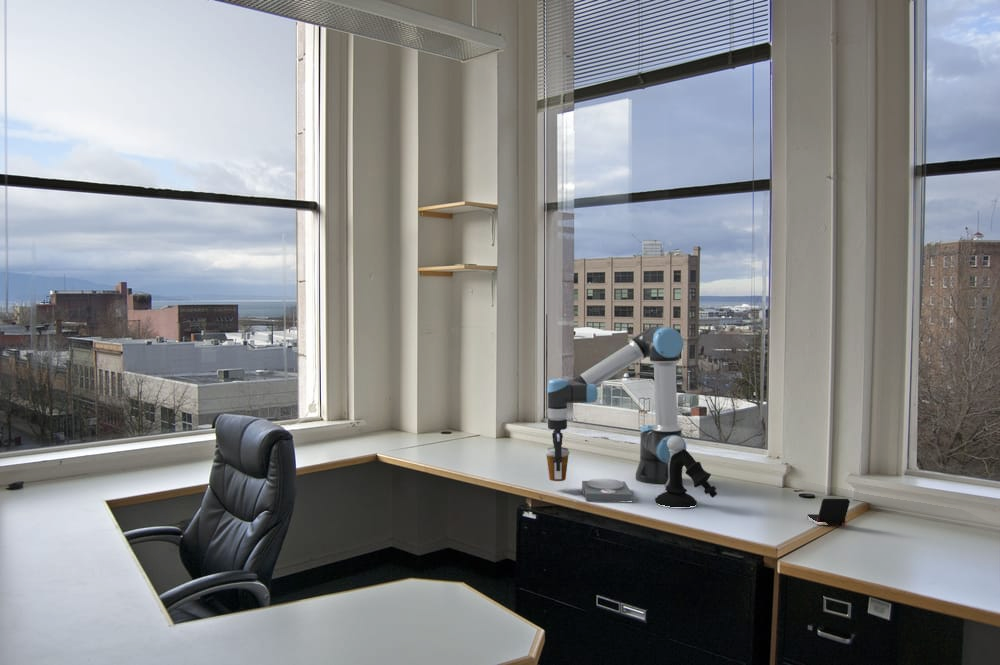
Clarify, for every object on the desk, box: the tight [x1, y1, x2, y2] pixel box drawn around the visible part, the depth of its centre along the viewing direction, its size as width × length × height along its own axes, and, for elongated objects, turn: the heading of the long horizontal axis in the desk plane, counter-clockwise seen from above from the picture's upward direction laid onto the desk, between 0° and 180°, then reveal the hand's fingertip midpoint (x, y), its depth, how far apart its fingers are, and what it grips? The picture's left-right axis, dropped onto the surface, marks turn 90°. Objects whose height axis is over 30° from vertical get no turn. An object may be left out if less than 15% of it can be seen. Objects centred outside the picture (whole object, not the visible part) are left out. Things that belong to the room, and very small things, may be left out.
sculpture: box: [654, 436, 719, 507], centre depth 275 cm, size 15×24×25 cm, turn 48°
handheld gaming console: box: [807, 498, 851, 527], centre depth 255 cm, size 9×12×10 cm
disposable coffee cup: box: [544, 446, 570, 482], centre depth 295 cm, size 10×10×12 cm
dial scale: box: [581, 478, 633, 502], centre depth 289 cm, size 17×20×4 cm
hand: (557, 476), depth 295 cm, fingers closed on disposable coffee cup, 8 cm apart
